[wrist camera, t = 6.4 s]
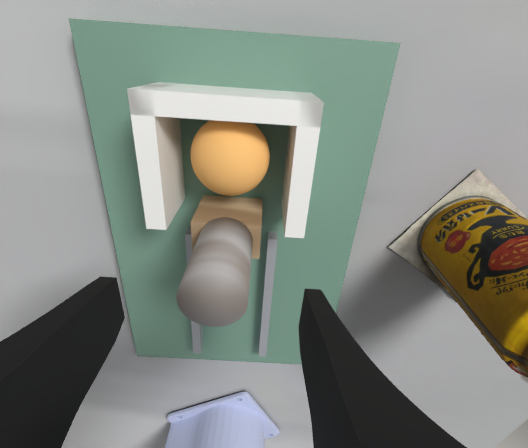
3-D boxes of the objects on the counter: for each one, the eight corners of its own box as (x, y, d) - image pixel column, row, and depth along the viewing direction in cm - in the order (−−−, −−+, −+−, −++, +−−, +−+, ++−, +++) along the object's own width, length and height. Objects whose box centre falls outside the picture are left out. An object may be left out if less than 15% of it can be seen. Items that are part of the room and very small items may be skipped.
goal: (297, 205, 19) (304, 238, 16) (168, 197, 19) (146, 228, 15) (311, 92, 16) (324, 102, 12) (158, 82, 16) (126, 88, 12)
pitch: (321, 353, 27) (325, 376, 25) (142, 344, 27) (132, 366, 25) (391, 44, 16) (408, 41, 14) (82, 21, 16) (56, 16, 14)
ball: (219, 87, 15) (224, 146, 19) (165, 132, 13) (181, 188, 17) (288, 118, 14) (280, 174, 18) (239, 171, 12) (241, 223, 16)
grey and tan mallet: (260, 232, 20) (256, 329, 13) (204, 229, 20) (169, 324, 13) (263, 192, 18) (259, 275, 11) (203, 188, 18) (162, 270, 11)
